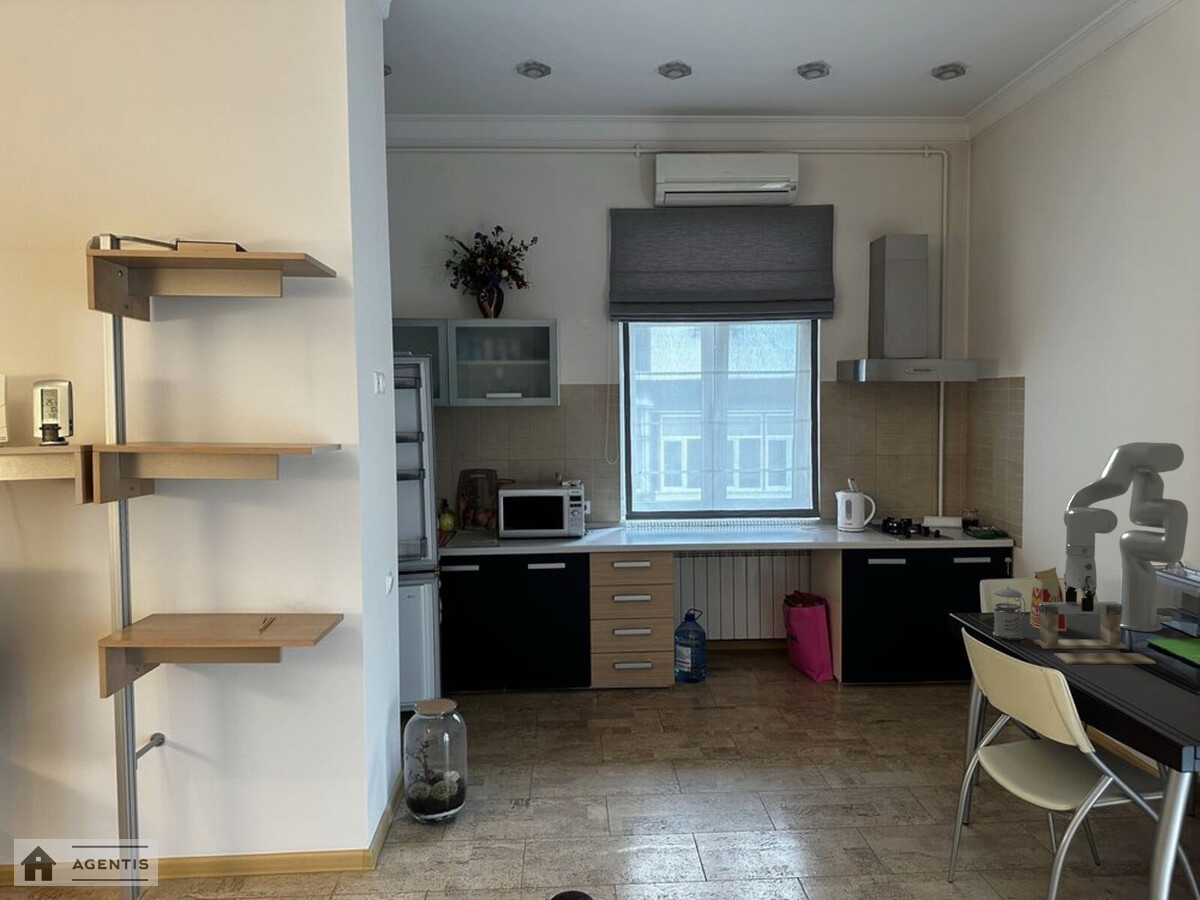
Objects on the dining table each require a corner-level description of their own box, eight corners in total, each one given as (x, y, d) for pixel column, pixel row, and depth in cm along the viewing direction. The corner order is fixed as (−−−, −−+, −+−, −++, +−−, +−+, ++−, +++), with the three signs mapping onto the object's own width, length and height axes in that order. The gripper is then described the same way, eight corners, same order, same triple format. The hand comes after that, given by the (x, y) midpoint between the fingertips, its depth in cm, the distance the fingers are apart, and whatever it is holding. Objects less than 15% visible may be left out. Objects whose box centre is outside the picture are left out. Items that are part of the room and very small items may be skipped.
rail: (1117, 611, 258) (1117, 601, 258) (1122, 614, 255) (1123, 604, 255) (1037, 611, 259) (1037, 602, 259) (1041, 614, 256) (1041, 604, 256)
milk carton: (1055, 624, 283) (1056, 564, 282) (1067, 631, 274) (1068, 569, 272) (1026, 623, 284) (1027, 564, 283) (1038, 631, 274) (1038, 569, 273)
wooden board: (1139, 655, 247) (1139, 653, 247) (1155, 663, 239) (1155, 661, 239) (1054, 655, 248) (1054, 653, 248) (1067, 663, 240) (1067, 661, 240)
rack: (1114, 642, 260) (1115, 602, 259) (1125, 648, 254) (1126, 606, 253) (1034, 642, 261) (1034, 602, 261) (1043, 648, 255) (1043, 607, 255)
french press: (983, 634, 272) (984, 556, 270) (1010, 630, 276) (1010, 553, 275) (1009, 642, 263) (1009, 561, 261) (1036, 637, 267) (1037, 558, 266)
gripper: (1108, 556, 247) (1107, 614, 248) (1078, 546, 264) (1077, 601, 265) (1082, 555, 248) (1080, 614, 248) (1053, 546, 265) (1052, 601, 266)
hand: (1079, 607), depth 257 cm, fingers open, 9 cm apart
